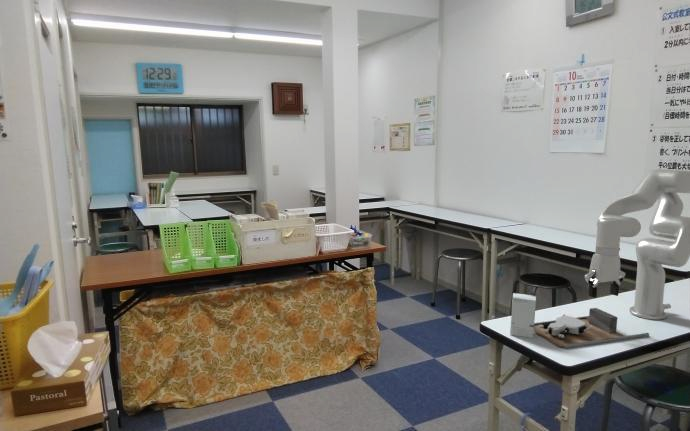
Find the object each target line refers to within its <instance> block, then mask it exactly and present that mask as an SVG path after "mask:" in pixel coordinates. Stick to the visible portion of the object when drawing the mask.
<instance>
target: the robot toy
mask: <svg viewBox="0 0 690 431" xmlns="http://www.w3.org/2000/svg"><path fill="white" fill-rule="evenodd" d="M555 320H556V322H555V323H551V324H548V323H543V325H539V328H544V329H548V333H549V334H552V335H554V336H558V337H561V338H565V337H566V335H567V333H572V334H577V335H578V334H581V333H583V332H586V331H587V330H588V329H589V328H591V327H592V326H590V327H589V328H587V325H586V323H584V322H583V321H581V320H580V319H577V317H574V316H571V315H570V316H569V315H566V314H563V315H561V316H560V317H559V316H558V317H556V319H555Z"/></svg>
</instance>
